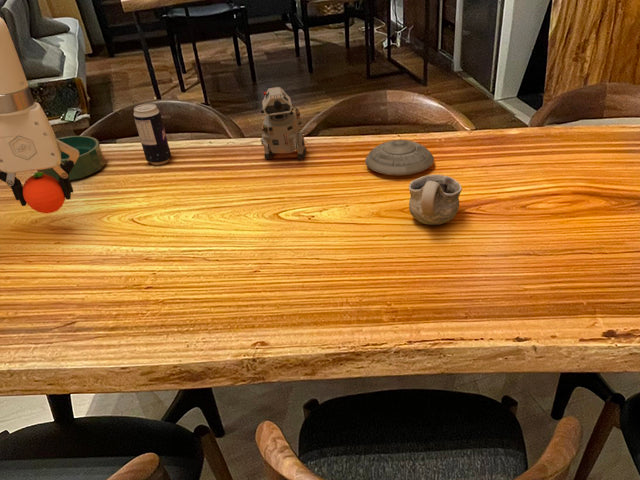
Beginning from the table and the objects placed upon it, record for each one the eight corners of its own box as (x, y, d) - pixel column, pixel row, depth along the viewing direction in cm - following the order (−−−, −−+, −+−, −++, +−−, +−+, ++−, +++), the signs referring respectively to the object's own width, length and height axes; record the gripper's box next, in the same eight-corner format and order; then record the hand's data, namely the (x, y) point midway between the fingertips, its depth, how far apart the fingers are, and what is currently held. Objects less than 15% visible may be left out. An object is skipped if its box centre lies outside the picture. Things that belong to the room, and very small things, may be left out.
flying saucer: (378, 149, 144) (377, 125, 140) (441, 156, 140) (442, 131, 136) (355, 176, 133) (354, 151, 130) (422, 184, 129) (423, 159, 126)
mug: (458, 208, 121) (462, 158, 114) (461, 241, 112) (464, 188, 105) (409, 208, 122) (409, 158, 115) (407, 241, 112) (407, 188, 106)
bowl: (37, 187, 134) (28, 165, 131) (42, 162, 144) (33, 141, 141) (106, 176, 137) (98, 154, 134) (105, 153, 147) (98, 132, 144)
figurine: (259, 171, 137) (247, 100, 127) (270, 150, 145) (260, 82, 135) (299, 171, 136) (291, 100, 126) (308, 150, 145) (301, 82, 135)
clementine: (32, 203, 118) (18, 167, 114) (71, 198, 120) (58, 162, 115) (29, 222, 113) (13, 185, 108) (69, 216, 114) (56, 180, 110)
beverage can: (173, 163, 142) (160, 109, 134) (148, 168, 140) (132, 113, 132) (170, 154, 146) (156, 101, 138) (145, 158, 144) (130, 105, 136)
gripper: (-54, 113, 98) (-7, 216, 110) (63, 101, 102) (96, 201, 114) (-46, 98, 104) (-2, 198, 116) (64, 87, 108) (96, 184, 120)
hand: (46, 198), depth 115 cm, fingers closed on clementine, 7 cm apart
